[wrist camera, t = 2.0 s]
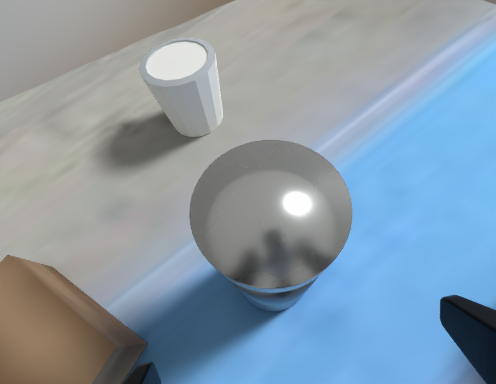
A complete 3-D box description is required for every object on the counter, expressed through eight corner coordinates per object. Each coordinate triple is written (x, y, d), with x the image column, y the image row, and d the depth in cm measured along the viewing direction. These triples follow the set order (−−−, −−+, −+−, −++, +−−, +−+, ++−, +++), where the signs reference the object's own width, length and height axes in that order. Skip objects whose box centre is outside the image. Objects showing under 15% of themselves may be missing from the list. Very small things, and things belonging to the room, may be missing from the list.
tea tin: (288, 327, 17) (311, 326, 6) (225, 288, 19) (157, 233, 8) (318, 260, 19) (374, 172, 8) (258, 229, 21) (240, 122, 10)
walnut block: (17, 547, 14) (-72, 622, 10) (-76, 410, 17) (-166, 432, 14) (147, 343, 18) (116, 347, 14) (51, 266, 21) (7, 254, 18)
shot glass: (158, 114, 29) (127, 57, 23) (209, 88, 30) (192, 27, 24) (185, 152, 26) (156, 97, 20) (240, 120, 27) (230, 60, 21)
